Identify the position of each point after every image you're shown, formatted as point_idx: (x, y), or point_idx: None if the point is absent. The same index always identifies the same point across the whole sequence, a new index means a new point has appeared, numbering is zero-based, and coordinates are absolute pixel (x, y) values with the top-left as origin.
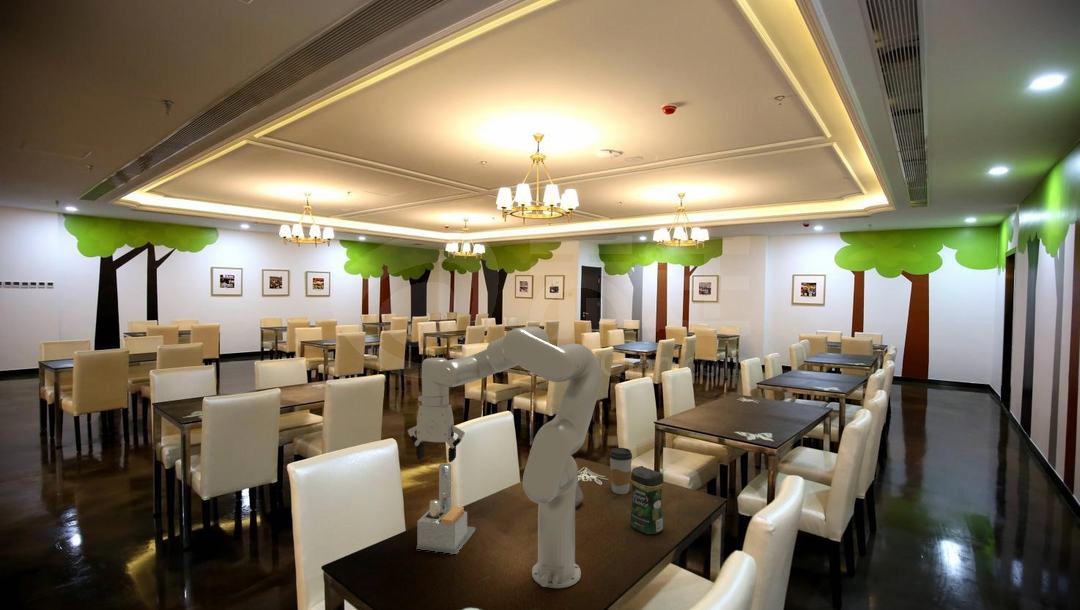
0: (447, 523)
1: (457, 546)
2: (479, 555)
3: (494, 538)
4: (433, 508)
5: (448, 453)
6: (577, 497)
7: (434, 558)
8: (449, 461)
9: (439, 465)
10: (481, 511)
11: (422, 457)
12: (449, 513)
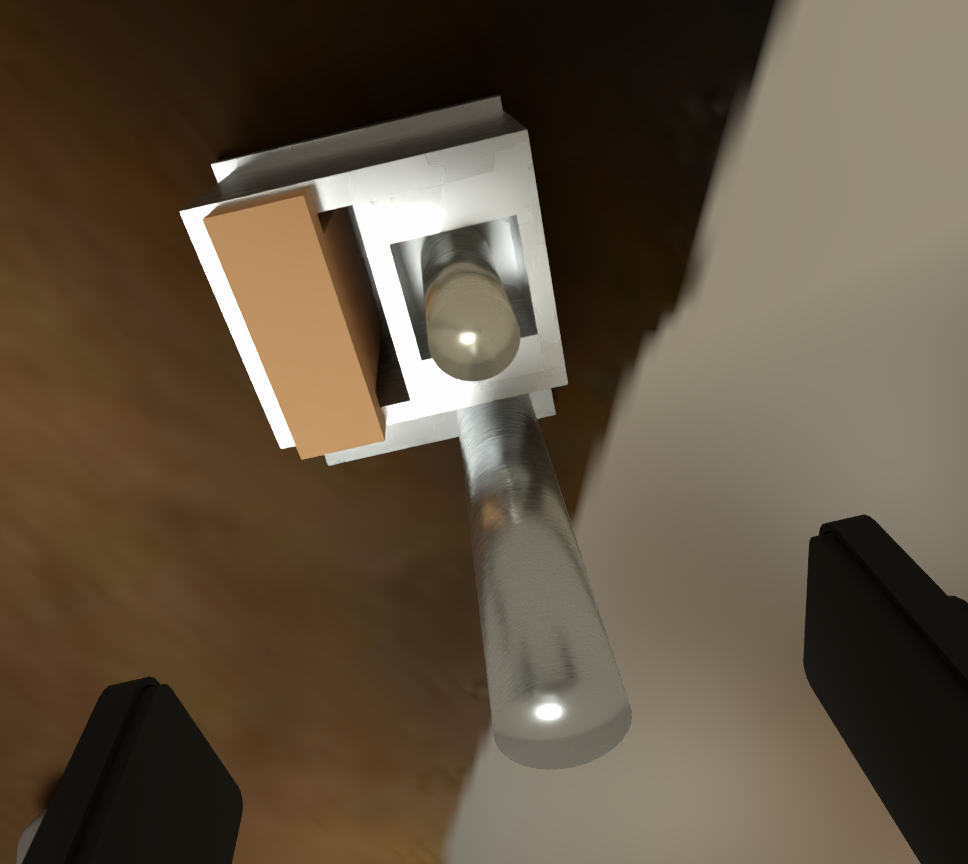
0: (249, 202)
1: None
2: (87, 225)
3: (170, 430)
4: (451, 281)
5: (89, 859)
6: (18, 860)
7: (311, 49)
8: (131, 685)
9: (625, 702)
10: (441, 619)
11: (808, 623)
12: (322, 323)
